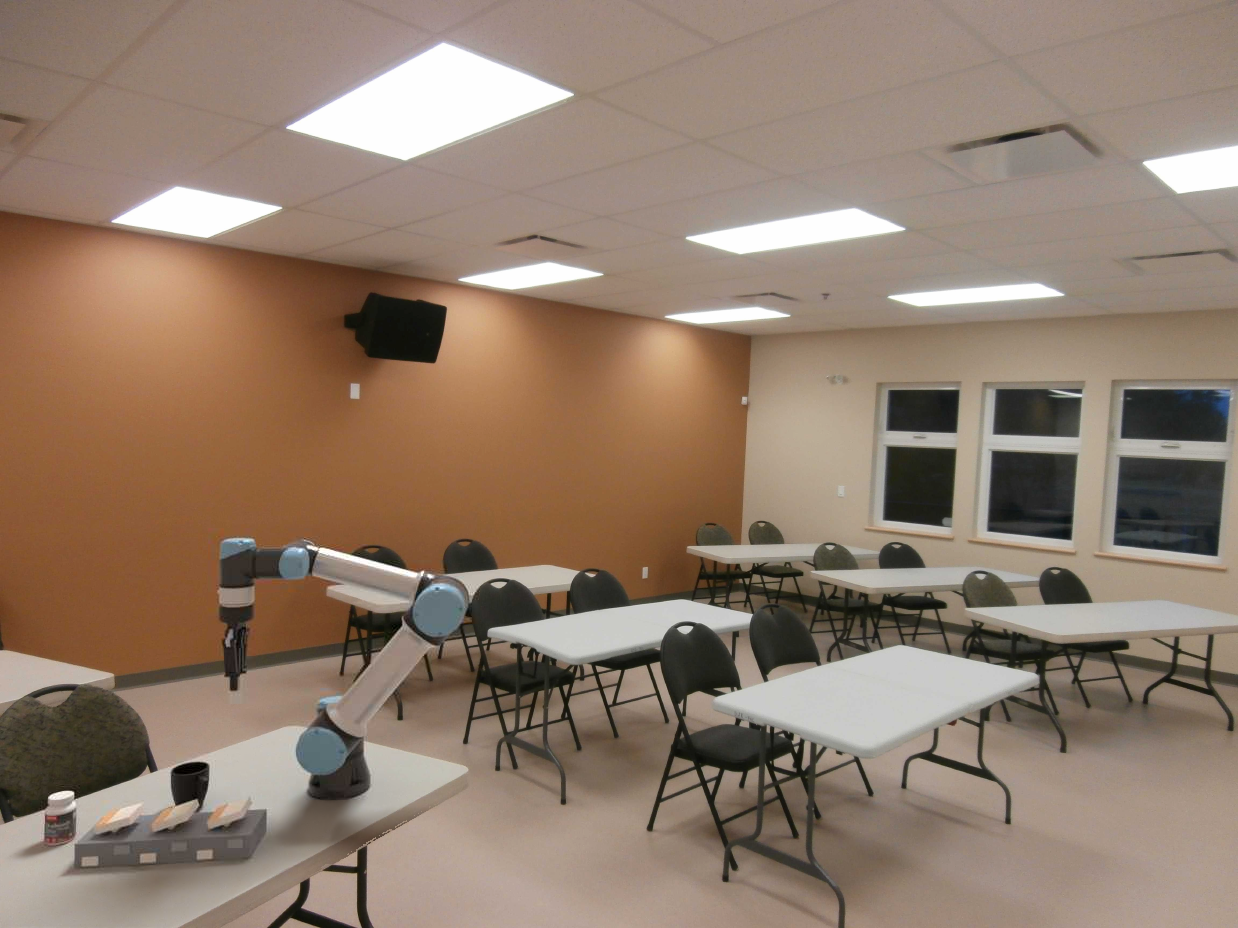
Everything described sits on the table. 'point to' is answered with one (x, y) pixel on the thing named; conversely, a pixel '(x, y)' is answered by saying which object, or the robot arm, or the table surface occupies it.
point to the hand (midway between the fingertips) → (235, 702)
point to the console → (172, 841)
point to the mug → (190, 782)
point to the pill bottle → (60, 818)
